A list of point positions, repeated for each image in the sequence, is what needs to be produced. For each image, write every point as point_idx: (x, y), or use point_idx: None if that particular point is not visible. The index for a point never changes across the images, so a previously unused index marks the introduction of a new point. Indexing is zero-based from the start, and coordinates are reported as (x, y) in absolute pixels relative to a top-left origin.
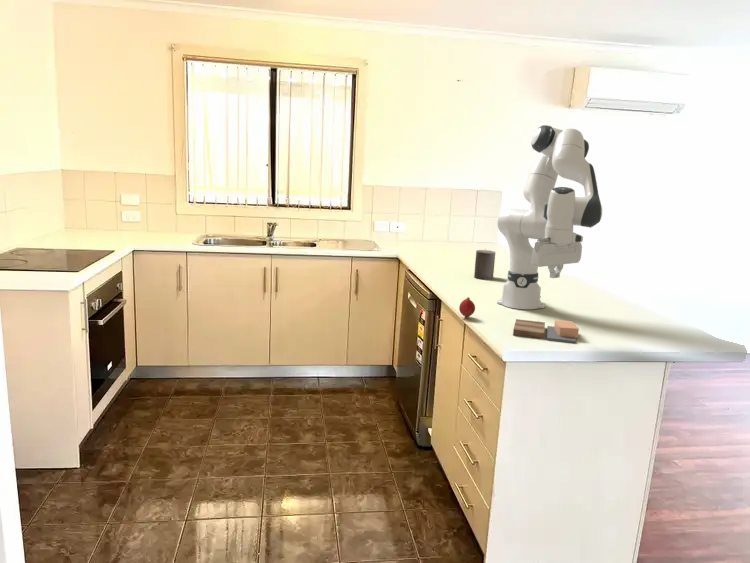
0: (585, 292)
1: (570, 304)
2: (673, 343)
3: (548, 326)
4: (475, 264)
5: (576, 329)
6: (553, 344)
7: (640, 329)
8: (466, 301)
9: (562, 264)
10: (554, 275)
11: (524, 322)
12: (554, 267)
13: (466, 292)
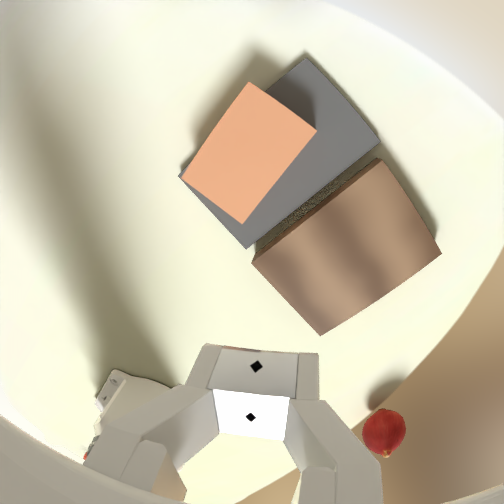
0: (7, 362)
1: (48, 346)
2: (43, 10)
3: (248, 242)
4: None
5: (257, 87)
6: (395, 95)
7: (15, 124)
8: (397, 444)
9: (103, 473)
10: (305, 373)
11: (329, 297)
12: (331, 481)
13: (210, 480)
